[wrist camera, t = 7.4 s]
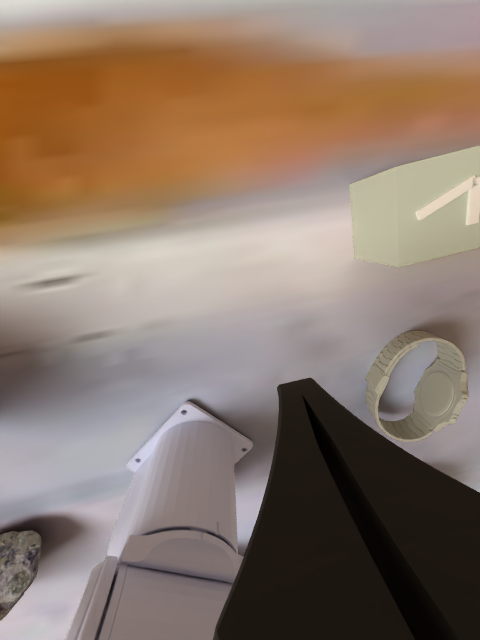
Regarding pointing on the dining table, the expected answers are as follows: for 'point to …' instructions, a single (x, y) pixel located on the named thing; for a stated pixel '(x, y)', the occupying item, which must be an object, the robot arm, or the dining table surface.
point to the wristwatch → (421, 387)
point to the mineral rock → (17, 566)
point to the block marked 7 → (418, 210)
